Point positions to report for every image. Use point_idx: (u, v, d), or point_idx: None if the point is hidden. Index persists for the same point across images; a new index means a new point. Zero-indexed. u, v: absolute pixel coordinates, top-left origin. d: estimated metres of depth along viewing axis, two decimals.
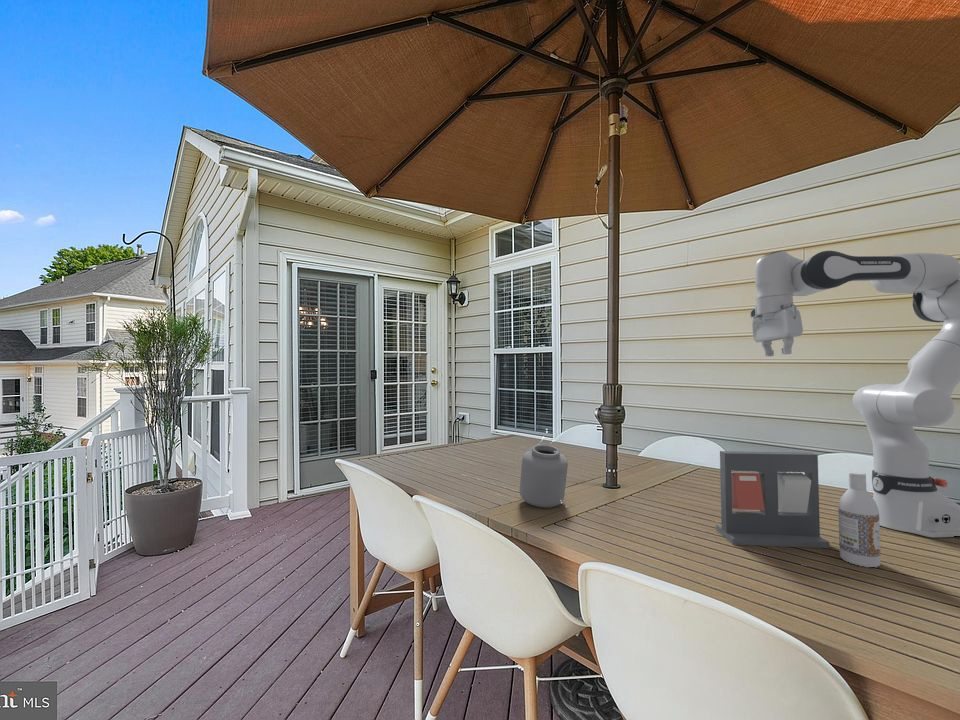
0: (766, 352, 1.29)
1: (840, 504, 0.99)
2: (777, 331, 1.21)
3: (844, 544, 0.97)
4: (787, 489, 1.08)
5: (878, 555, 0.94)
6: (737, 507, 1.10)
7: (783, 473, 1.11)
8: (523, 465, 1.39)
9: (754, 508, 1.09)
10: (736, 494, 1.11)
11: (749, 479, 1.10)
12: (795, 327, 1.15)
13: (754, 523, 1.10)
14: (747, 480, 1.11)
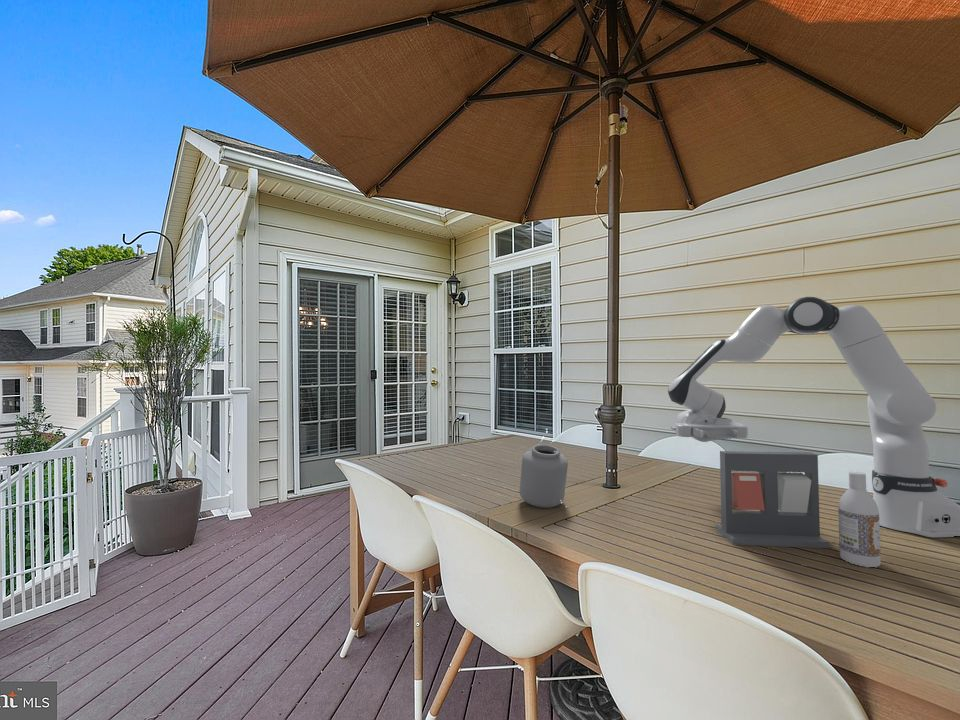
0: (733, 437, 1.28)
1: (840, 503, 0.99)
2: None
3: (844, 544, 0.97)
4: (787, 489, 1.08)
5: (878, 555, 0.94)
6: (737, 507, 1.10)
7: (783, 473, 1.11)
8: (523, 465, 1.39)
9: (754, 508, 1.09)
10: (736, 494, 1.11)
11: (749, 479, 1.10)
12: (677, 430, 1.35)
13: (754, 523, 1.10)
14: (747, 480, 1.11)
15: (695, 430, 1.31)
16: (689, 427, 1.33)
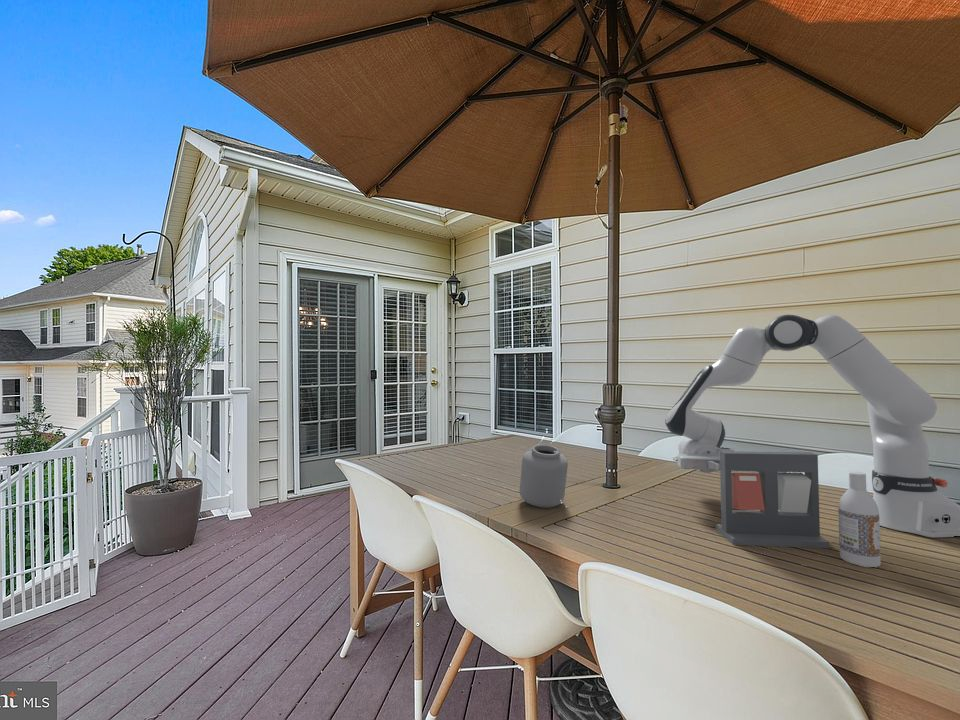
0: None
1: (840, 504, 0.99)
2: None
3: (844, 544, 0.97)
4: (787, 489, 1.08)
5: (878, 555, 0.94)
6: (737, 507, 1.10)
7: (783, 473, 1.11)
8: (523, 465, 1.39)
9: (754, 508, 1.09)
10: (736, 494, 1.11)
11: (749, 479, 1.10)
12: (679, 462, 1.34)
13: (754, 523, 1.10)
14: (747, 480, 1.11)
15: (710, 463, 1.29)
16: (691, 459, 1.31)
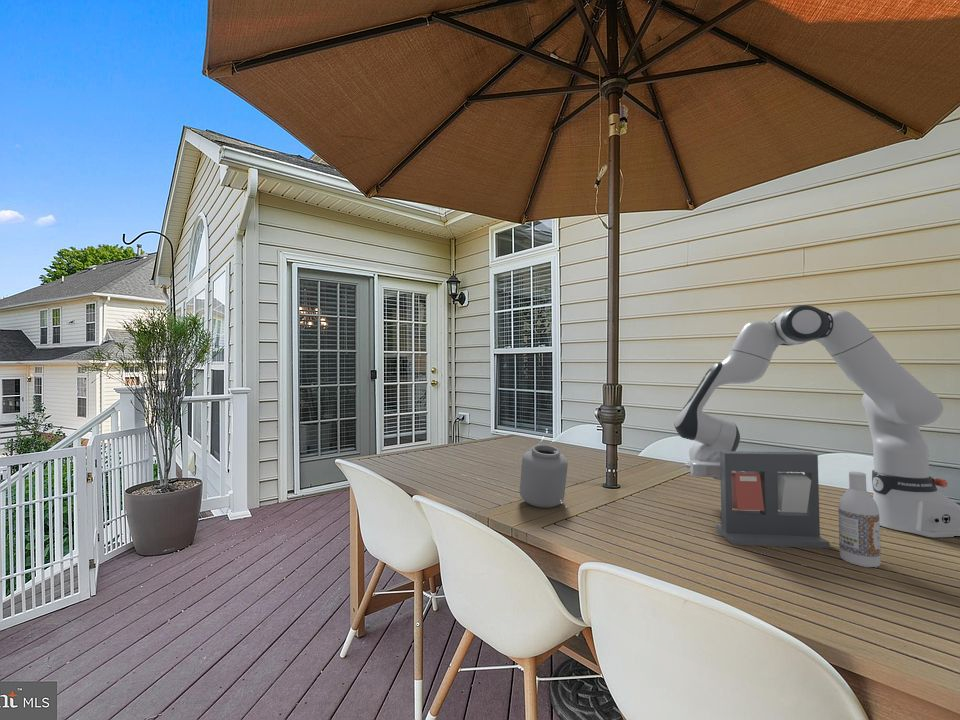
0: None
1: (840, 504, 0.99)
2: None
3: (844, 544, 0.97)
4: (787, 489, 1.08)
5: (878, 555, 0.94)
6: (737, 507, 1.10)
7: (783, 473, 1.11)
8: (523, 465, 1.39)
9: (754, 508, 1.09)
10: (736, 495, 1.11)
11: (749, 479, 1.10)
12: (691, 469, 1.23)
13: (754, 523, 1.10)
14: (747, 481, 1.10)
15: None
16: (705, 466, 1.20)
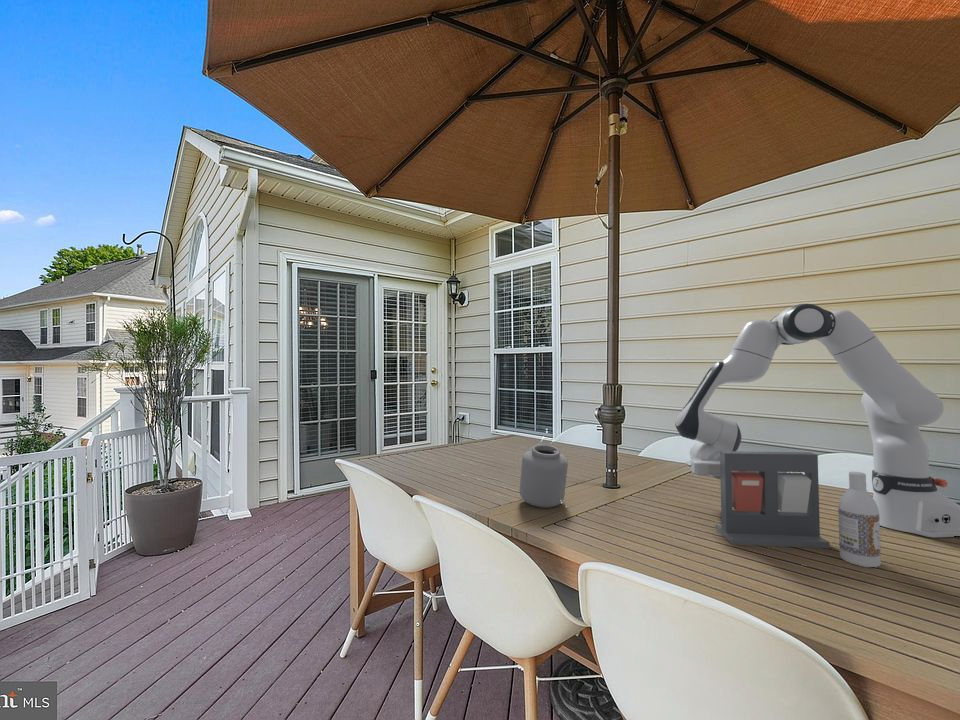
0: None
1: (840, 504, 0.99)
2: None
3: (844, 544, 0.97)
4: (787, 489, 1.08)
5: (878, 555, 0.94)
6: (734, 507, 1.12)
7: (783, 473, 1.11)
8: (523, 465, 1.39)
9: (751, 509, 1.10)
10: (735, 496, 1.11)
11: (751, 484, 1.09)
12: (693, 467, 1.22)
13: (754, 523, 1.10)
14: (749, 485, 1.09)
15: None
16: (706, 464, 1.19)
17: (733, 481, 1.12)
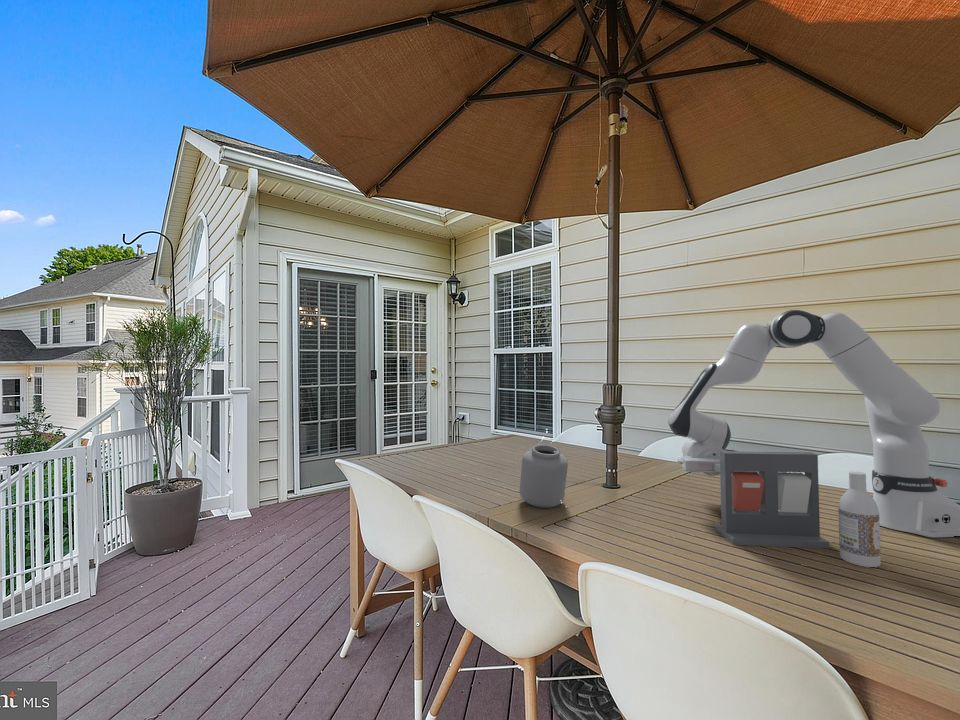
0: None
1: (840, 504, 0.99)
2: None
3: (844, 544, 0.97)
4: (787, 489, 1.08)
5: (878, 555, 0.94)
6: (733, 506, 1.12)
7: (783, 473, 1.11)
8: (523, 465, 1.39)
9: (749, 509, 1.11)
10: (735, 497, 1.11)
11: (752, 486, 1.09)
12: (684, 465, 1.29)
13: (754, 523, 1.10)
14: (749, 487, 1.09)
15: (717, 466, 1.24)
16: (697, 462, 1.26)
17: (734, 482, 1.12)
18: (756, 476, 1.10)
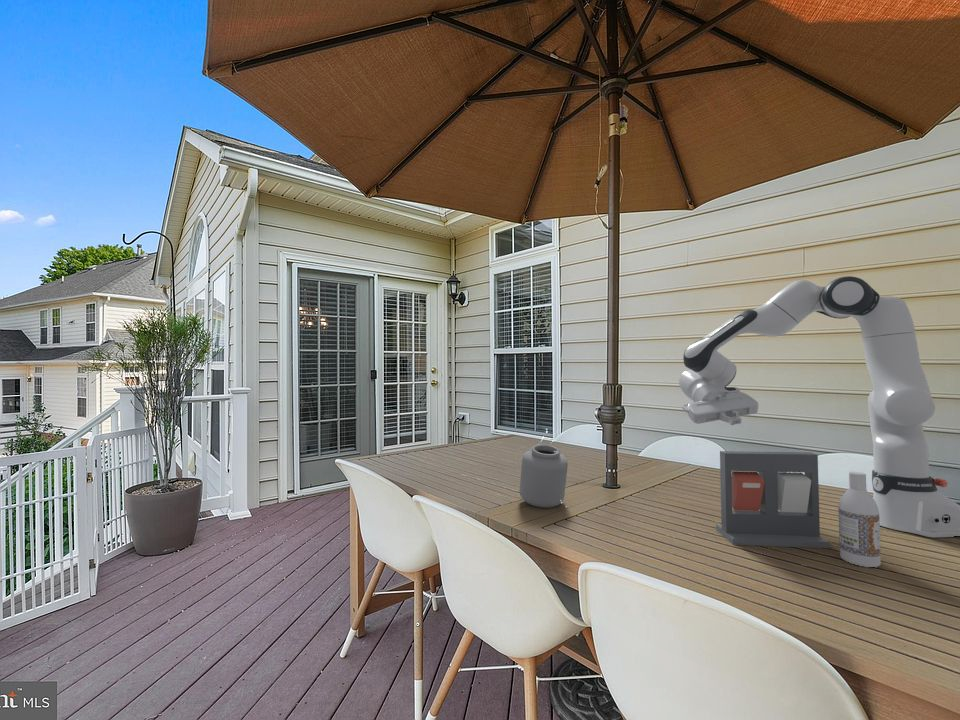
0: None
1: (840, 504, 0.99)
2: None
3: (844, 544, 0.97)
4: (787, 489, 1.08)
5: (878, 555, 0.94)
6: (733, 506, 1.12)
7: (783, 473, 1.11)
8: (523, 465, 1.39)
9: (749, 509, 1.11)
10: (735, 497, 1.11)
11: (752, 486, 1.09)
12: (691, 416, 1.35)
13: (754, 523, 1.10)
14: (749, 487, 1.09)
15: (723, 416, 1.31)
16: (704, 414, 1.32)
17: (734, 482, 1.12)
18: (756, 476, 1.10)
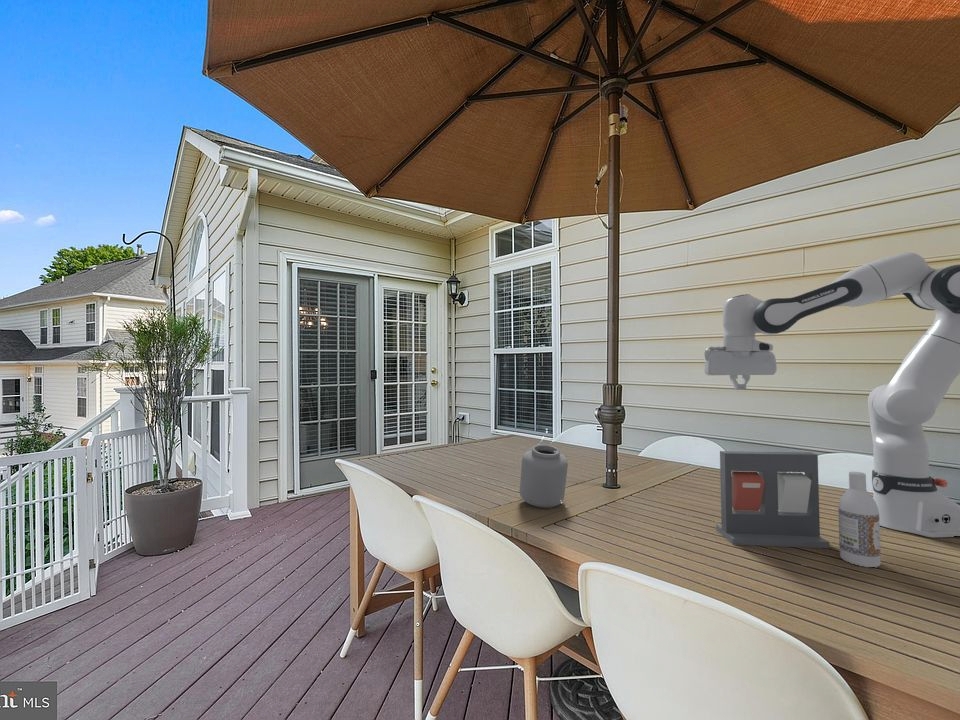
0: None
1: (840, 504, 0.99)
2: None
3: (844, 544, 0.97)
4: (787, 489, 1.08)
5: (878, 555, 0.94)
6: (733, 506, 1.12)
7: (783, 473, 1.11)
8: (523, 465, 1.39)
9: (749, 509, 1.11)
10: (735, 497, 1.11)
11: (752, 486, 1.09)
12: (706, 368, 1.38)
13: (754, 523, 1.10)
14: (749, 487, 1.09)
15: (733, 380, 1.37)
16: None
17: (734, 482, 1.12)
18: (756, 476, 1.10)
